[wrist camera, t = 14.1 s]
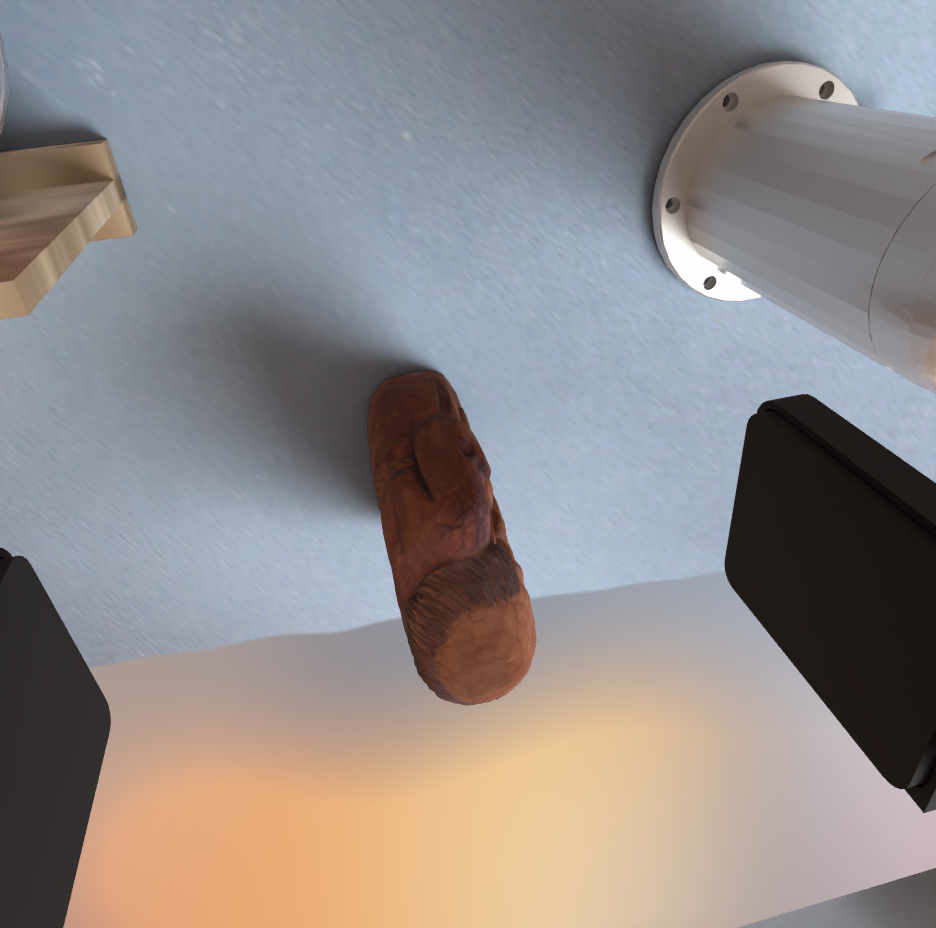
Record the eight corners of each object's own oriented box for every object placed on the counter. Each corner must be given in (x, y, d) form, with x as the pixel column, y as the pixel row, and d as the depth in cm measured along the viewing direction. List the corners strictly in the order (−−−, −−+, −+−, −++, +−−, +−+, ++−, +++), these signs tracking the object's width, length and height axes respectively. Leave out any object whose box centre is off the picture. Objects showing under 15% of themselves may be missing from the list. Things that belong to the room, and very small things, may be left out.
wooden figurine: (477, 510, 48) (568, 731, 33) (385, 532, 47) (436, 769, 32) (454, 352, 41) (555, 539, 26) (347, 375, 40) (389, 581, 26)
